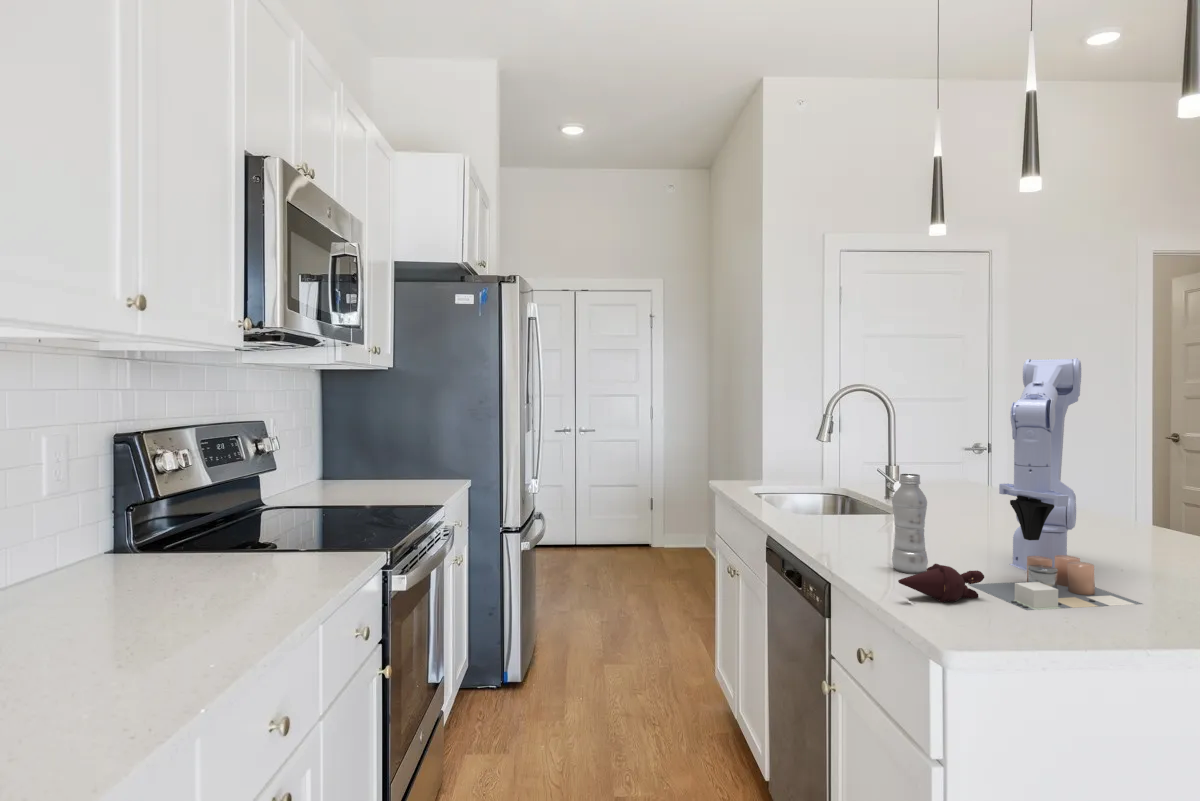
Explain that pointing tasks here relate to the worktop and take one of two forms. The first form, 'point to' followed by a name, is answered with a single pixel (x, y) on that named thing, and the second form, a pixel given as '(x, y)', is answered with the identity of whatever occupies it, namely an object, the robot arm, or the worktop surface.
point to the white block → (1036, 595)
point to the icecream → (944, 583)
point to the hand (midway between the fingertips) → (1031, 539)
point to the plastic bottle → (909, 526)
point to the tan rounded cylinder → (1081, 578)
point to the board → (1064, 596)
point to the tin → (1043, 575)
